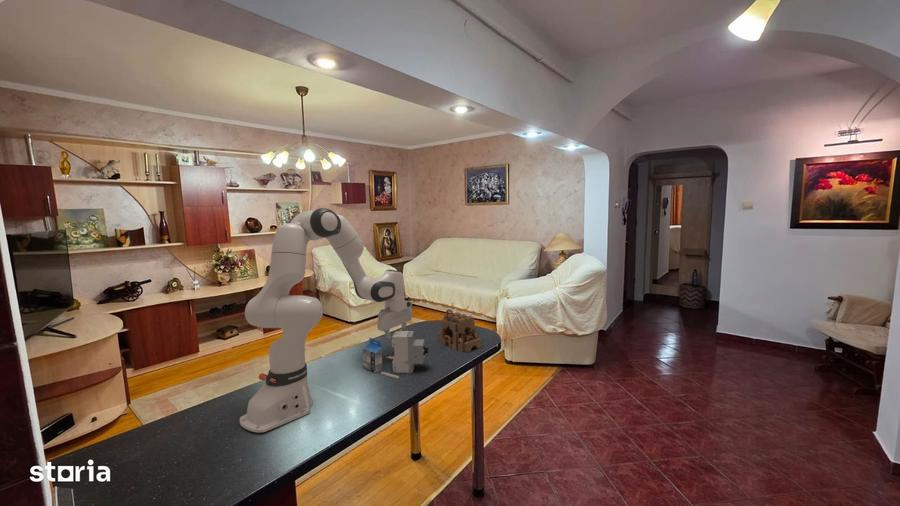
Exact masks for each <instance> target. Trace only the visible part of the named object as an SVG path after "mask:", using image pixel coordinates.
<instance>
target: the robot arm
mask: <svg viewBox="0 0 900 506" xmlns="http://www.w3.org/2000/svg"><path fill="white" fill-rule="evenodd" d="M321 239H322V240H323V239H326V240H327V241H328V242H329V244H330V245H331V247H332V249H333V251H335V253H336V255H337V256H338V258H339V259H340V261H341V262H342V264H343V266H344V267H345V268H344V269H345V270H346V271H347V273H348V275H349V277H350V278H351V280H352V282H353V287H354V291H355V294H356V296H357V297H358V298H360V299H362V300H368V301H372V302H376V303H383V302H384V308H382V309H380V311H379V312H378V315H377V326H376V327H377V330H378V331H381V332H384V334H385V336H386V339H388V340H390V339H392V334H391V333H390V331H391V330H390V329H393V328H396V327H399V326H401V327H400V329H399V331H406V327H407V324H408V322H411V321H412V319H413V307H412V306H413V303H412V301H410V300H406V299H405V295H404V294H405V293H404V291H405V280H404V274H403V272H401V271H400V270H396V269H395V270H394V269H386V270H385V271H384V272H383V273H382V274H381V275H380V276H378V277H377V278H373V277H370V276H369V275H368V274H366V272H365V270H364V268H363V266H362V264H361V263H360V261H359V258H360V257H361V256H362V254H363V253H364V250H365V249H364V244H363V241H362V240H361V238H360V236H359V234H358V232H357V231H356V229H355V228H354V227H353V225H352V224H351V223H350V221H348V220H347V218H346V217H345V216H343V215H340V214H337V213H336V212H335V211H333V210H332V209H329V208H325V207H321V208H320V207H319V208H317V209H308V210H306V211H302V212H299V213H297V214H295V215H293V216H292V217H291V218H290V219H289V221H288V222H287V223H283V224H280V225H279V226H278V227H277V228H276V231H275V234H274V237H273V241H272V246H271V254H270V255H271V256H270V264H269V269H268V275H267V278H266V281H265V284H264V285H263V287H262V288H261V290H260V291H259V292H258V293H257V294H256V295H255V296H254V297H253V298H251V299H250V300H249V301H248V303H247V304H246V306H245V309H244V318H245V320H246V322H247V323H248V324H249V325H251V326H254V327H258V328H263V329H282V334H281V337H280V338H278V339H276V340H274V341H273V342H272V343H271V345H270V346H269V349H268V358H269V370H268V371H267V374H266V373H263V372H262V373H259V375H258V377H257V378H258V380H261V381H265V383H264V384H263V385H262V386H261V387H260V388H259V389H258V390H257V392H256V393H255V394H254V395H253V396H252V397H251V398H250V399H249V400H248V402H247V410H246V413H245V414H244V415H242V416H240V417H239V425H240V427H242V428H243V429H245V430H247V431H249V432H253V433H265V432H268V431H270V430H272V429H275V428H278V427H280V426H282V425H284V424H287V423H289V422H291V421H294V420H297V419H299V418H301V417H303V416H307V415H308V414H310V412H311V407H312V405H313V403H314V401H313V399H312V396H311V392H310V389H309V384H308V365H307V363H306V340H307V337H308V335H309V333H310V332H311V330H313V328H315V327H316V326H317V325H319V323H320V322H321V319H322V318H323V314H324V308H323V305H322V302H321V301H320V300H319V298H317V297H314V296H313V297H312V296H308V295H292V294H291V295H290V291H291V289H292V288H293V287H294V286H295V285H296V284H297V285H298V284H299V283H300V282H301V281H303V280H304V278H305V275H306V264H307V263H306V262H307V247H308V243H309V241H318V240H321Z"/></svg>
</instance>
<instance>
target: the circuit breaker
mask: <svg viewBox="0 0 900 506" xmlns="http://www.w3.org/2000/svg"><path fill="white" fill-rule="evenodd" d="M425 341H426V340H425V339H423V338H422V339H415V330H405V331H400V330H397V331H394V333H393V334H392V335H391V348H393V349H394V355H393V356H395V357H394V360H393V359H392V373H393V374H394V373H396V374H398V373H399V374H400V373H401V374H402V373H403V374H404V373H405V374H406V373H407V374H409V373H414V369H415V366H416V364H418V365H419V364H424V362H425V358H426V354H428V352H429V347H426V345H425V344H426V343H425Z"/></svg>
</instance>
